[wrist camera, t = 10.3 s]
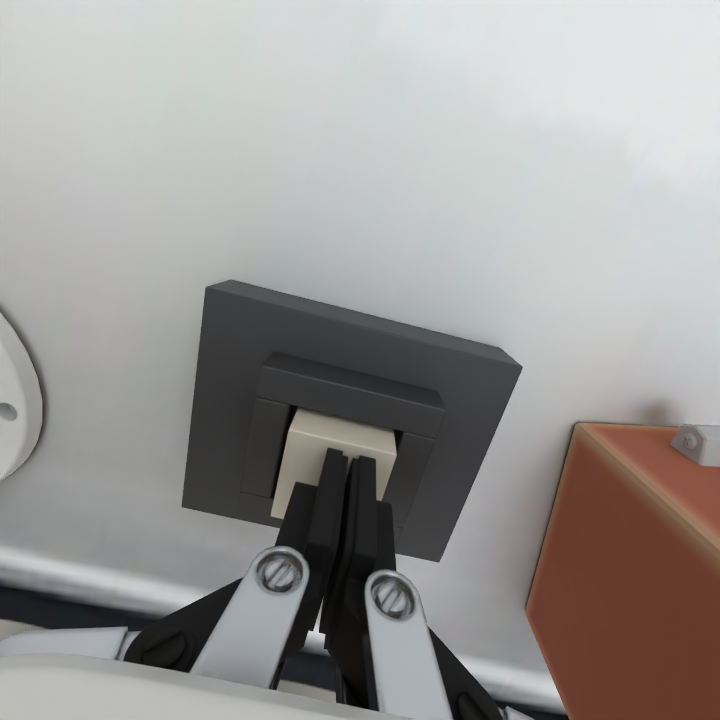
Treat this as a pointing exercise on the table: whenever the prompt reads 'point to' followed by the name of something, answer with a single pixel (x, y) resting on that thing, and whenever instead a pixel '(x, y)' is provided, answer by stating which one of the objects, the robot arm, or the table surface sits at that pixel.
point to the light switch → (339, 405)
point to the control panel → (633, 575)
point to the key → (310, 447)
